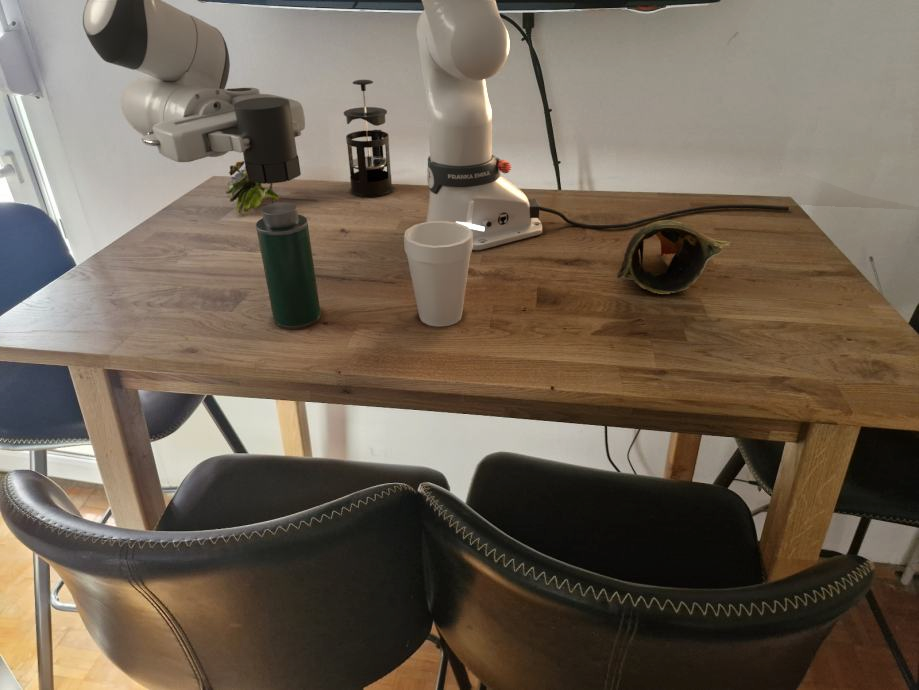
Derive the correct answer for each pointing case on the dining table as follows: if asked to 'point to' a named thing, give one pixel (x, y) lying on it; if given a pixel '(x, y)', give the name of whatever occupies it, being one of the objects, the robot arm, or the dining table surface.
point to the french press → (369, 168)
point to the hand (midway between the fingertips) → (272, 137)
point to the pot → (674, 240)
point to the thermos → (288, 266)
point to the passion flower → (247, 190)
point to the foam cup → (439, 269)
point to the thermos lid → (268, 139)
